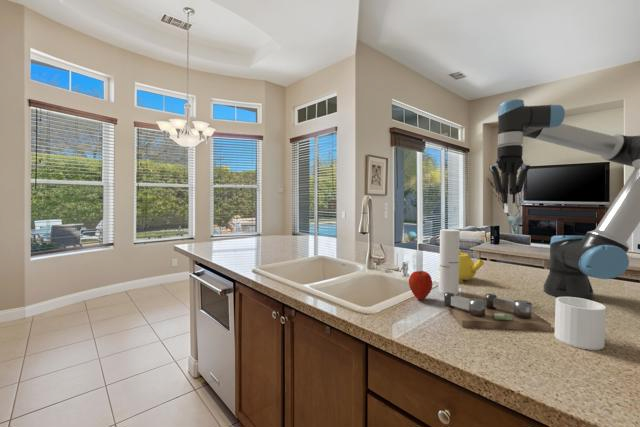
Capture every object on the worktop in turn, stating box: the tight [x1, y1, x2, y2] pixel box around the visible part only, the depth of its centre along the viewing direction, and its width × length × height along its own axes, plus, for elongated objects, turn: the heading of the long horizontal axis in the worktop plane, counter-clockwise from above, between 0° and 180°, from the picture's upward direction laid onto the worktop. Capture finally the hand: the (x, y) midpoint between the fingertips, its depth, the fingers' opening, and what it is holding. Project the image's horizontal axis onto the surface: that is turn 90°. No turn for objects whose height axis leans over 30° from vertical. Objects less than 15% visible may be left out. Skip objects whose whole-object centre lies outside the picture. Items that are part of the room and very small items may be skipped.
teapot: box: [438, 249, 485, 284], centre depth 139 cm, size 20×16×14 cm
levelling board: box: [447, 304, 552, 332], centre depth 95 cm, size 24×14×4 cm, turn 83°
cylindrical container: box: [438, 228, 461, 296], centre depth 122 cm, size 7×7×25 cm
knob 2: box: [485, 293, 533, 318], centre depth 95 cm, size 13×4×4 cm, turn 38°
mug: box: [554, 297, 607, 351], centre depth 81 cm, size 13×10×10 cm
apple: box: [408, 270, 433, 301], centre depth 114 cm, size 9×8×11 cm
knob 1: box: [443, 292, 486, 317], centre depth 97 cm, size 13×4×4 cm, turn 39°
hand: (508, 212), depth 109 cm, fingers closed
